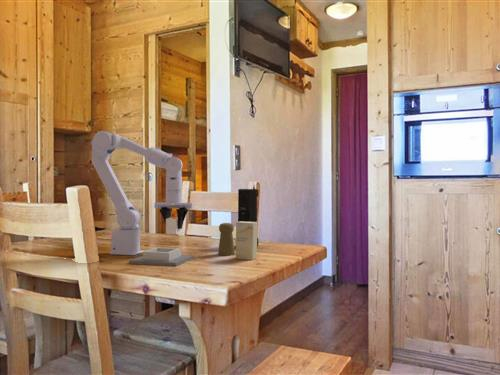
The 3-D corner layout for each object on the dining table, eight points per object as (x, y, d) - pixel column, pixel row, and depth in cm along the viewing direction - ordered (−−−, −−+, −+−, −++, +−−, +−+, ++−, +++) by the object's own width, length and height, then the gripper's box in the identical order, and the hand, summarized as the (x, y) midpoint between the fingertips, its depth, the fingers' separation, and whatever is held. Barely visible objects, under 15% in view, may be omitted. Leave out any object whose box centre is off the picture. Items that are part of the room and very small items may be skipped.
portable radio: (234, 246, 169) (234, 183, 169) (245, 244, 173) (245, 182, 173) (247, 248, 164) (247, 182, 163) (259, 246, 168) (258, 182, 167)
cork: (232, 256, 147) (232, 224, 147) (215, 255, 148) (215, 223, 148) (236, 253, 153) (236, 222, 153) (220, 252, 154) (220, 222, 154)
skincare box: (235, 258, 142) (235, 222, 142) (240, 256, 146) (240, 220, 146) (252, 260, 139) (252, 222, 139) (257, 258, 143) (257, 221, 143)
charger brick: (165, 234, 152) (165, 218, 152) (172, 232, 157) (172, 217, 157) (176, 234, 151) (176, 218, 151) (182, 232, 156) (182, 217, 156)
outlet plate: (128, 263, 134) (128, 252, 134) (150, 256, 147) (150, 245, 147) (176, 266, 130) (176, 254, 130) (194, 258, 143) (194, 247, 143)
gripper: (150, 190, 152) (150, 229, 152) (188, 190, 148) (188, 230, 148) (159, 190, 158) (159, 227, 158) (196, 190, 155) (196, 228, 155)
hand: (174, 228), depth 154 cm, fingers closed on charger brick, 4 cm apart
